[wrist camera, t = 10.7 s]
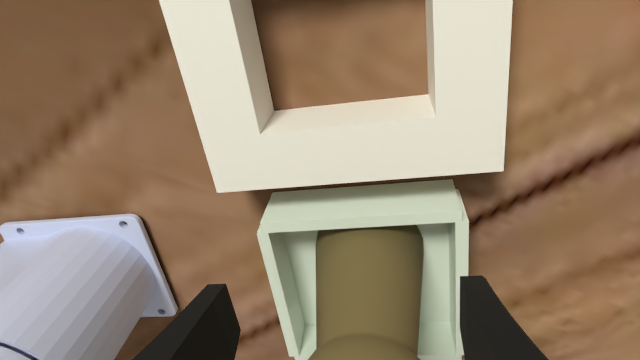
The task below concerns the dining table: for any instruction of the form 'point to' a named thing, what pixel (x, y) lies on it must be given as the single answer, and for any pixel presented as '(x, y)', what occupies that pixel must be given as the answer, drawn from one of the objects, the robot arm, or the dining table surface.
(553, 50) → the dining table surface
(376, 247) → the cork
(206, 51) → the holder
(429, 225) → the tray
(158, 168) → the dining table surface
